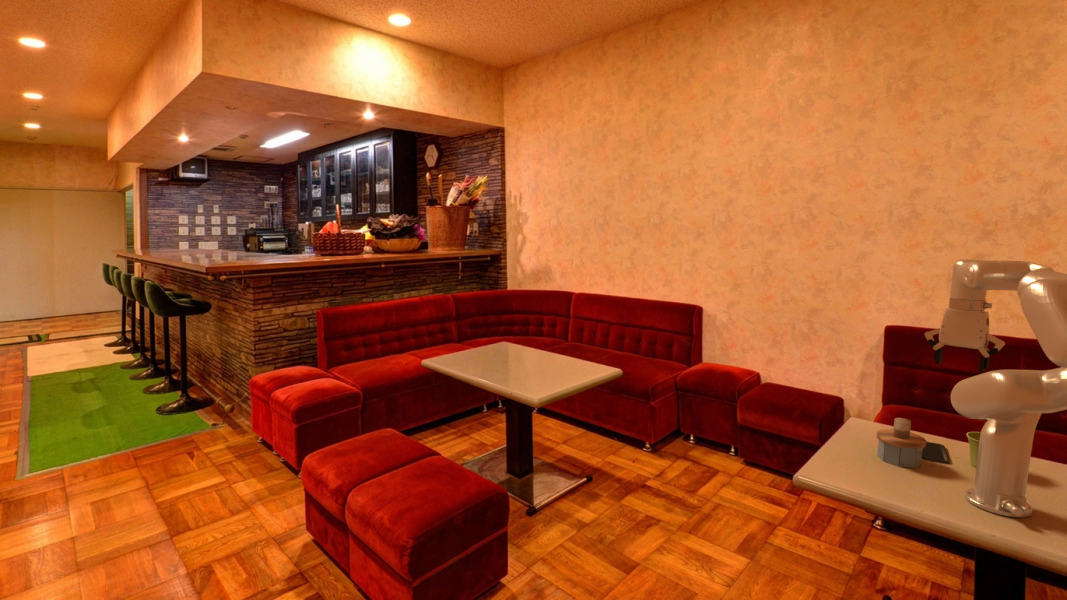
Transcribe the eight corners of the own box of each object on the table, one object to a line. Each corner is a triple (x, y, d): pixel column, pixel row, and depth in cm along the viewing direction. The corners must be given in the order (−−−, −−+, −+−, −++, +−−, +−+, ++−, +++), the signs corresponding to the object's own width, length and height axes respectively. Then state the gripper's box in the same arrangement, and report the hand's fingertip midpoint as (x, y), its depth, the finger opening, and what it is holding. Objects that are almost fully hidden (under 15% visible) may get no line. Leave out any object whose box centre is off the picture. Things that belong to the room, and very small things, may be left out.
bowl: (926, 468, 152) (928, 448, 151) (887, 465, 154) (889, 445, 153) (909, 454, 162) (911, 435, 161) (873, 451, 164) (874, 432, 163)
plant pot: (1013, 470, 151) (1017, 441, 150) (992, 476, 148) (996, 446, 146) (975, 457, 160) (979, 430, 158) (955, 462, 156) (958, 434, 155)
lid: (934, 450, 150) (936, 429, 149) (887, 446, 153) (889, 426, 152) (913, 434, 162) (915, 414, 161) (870, 431, 164) (871, 412, 163)
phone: (944, 444, 167) (949, 461, 155) (943, 448, 168) (949, 465, 155) (913, 439, 172) (916, 455, 159) (913, 442, 172) (916, 459, 159)
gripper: (1012, 307, 139) (1004, 371, 142) (932, 300, 153) (926, 359, 155) (1005, 310, 135) (997, 376, 137) (923, 303, 148) (917, 363, 151)
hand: (959, 367), depth 146 cm, fingers open, 9 cm apart
